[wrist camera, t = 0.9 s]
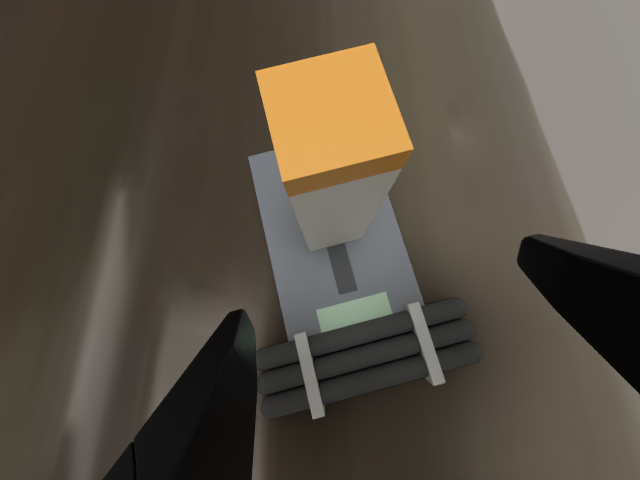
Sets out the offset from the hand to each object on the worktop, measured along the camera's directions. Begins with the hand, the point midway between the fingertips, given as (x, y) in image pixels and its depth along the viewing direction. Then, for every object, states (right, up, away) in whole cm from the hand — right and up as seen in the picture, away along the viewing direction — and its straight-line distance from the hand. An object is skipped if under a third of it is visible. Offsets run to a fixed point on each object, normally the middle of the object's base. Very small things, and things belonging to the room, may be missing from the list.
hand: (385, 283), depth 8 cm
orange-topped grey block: (-1, +3, +12) cm, 13 cm away
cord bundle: (+1, -7, +11) cm, 13 cm away
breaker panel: (-1, +2, +13) cm, 13 cm away
